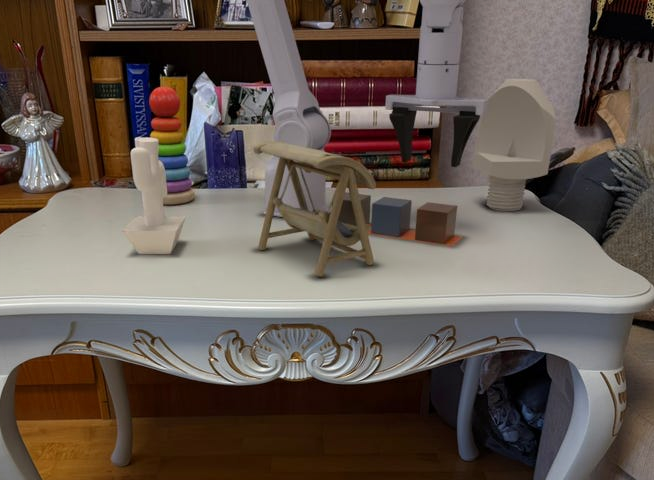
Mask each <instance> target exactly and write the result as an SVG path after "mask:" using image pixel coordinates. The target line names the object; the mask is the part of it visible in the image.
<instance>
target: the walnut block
mask: <svg viewBox="0 0 654 480" xmlns="http://www.w3.org/2000/svg"><path fill="white" fill-rule="evenodd" d="M457 213H458V205H456V204H455V205H454V204H445V203H439V202H429V201H427V202H425V204H423V205H421V206H419V207H418V208H417V209H416V218H415V230H416V231H415V240H420V241H427V242H434V243H441V244H445V243H446V242H448V241H449V240H450V239H451V238H452V237H454V236H455V232H456V224H457ZM420 241H419V242H420ZM427 242H426V243H427ZM434 243H433V244H434Z"/></svg>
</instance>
